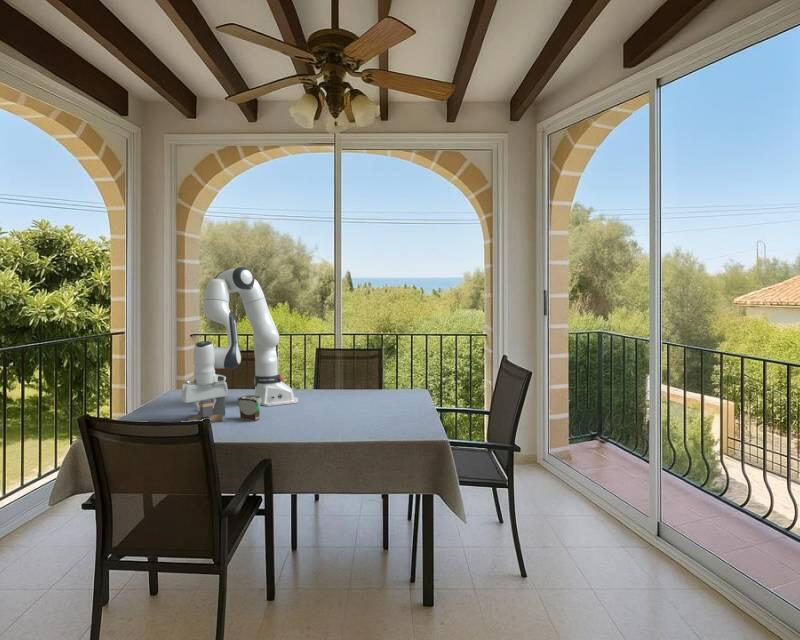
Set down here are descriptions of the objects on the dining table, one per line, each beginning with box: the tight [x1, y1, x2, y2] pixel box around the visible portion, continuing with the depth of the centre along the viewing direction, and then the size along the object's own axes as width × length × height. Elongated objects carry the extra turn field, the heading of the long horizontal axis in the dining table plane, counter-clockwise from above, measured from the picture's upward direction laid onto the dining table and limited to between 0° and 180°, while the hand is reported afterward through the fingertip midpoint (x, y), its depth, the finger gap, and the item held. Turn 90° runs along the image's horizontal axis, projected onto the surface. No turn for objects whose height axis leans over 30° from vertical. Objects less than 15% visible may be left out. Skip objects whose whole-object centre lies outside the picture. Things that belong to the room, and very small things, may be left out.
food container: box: [237, 394, 262, 422], centre depth 239 cm, size 12×6×10 cm, turn 59°
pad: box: [187, 414, 224, 424], centre depth 236 cm, size 14×10×1 cm
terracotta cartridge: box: [197, 400, 213, 417], centre depth 235 cm, size 4×4×6 cm
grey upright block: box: [211, 396, 226, 417], centre depth 246 cm, size 6×6×11 cm
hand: (205, 409), depth 235 cm, fingers closed on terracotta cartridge, 4 cm apart
